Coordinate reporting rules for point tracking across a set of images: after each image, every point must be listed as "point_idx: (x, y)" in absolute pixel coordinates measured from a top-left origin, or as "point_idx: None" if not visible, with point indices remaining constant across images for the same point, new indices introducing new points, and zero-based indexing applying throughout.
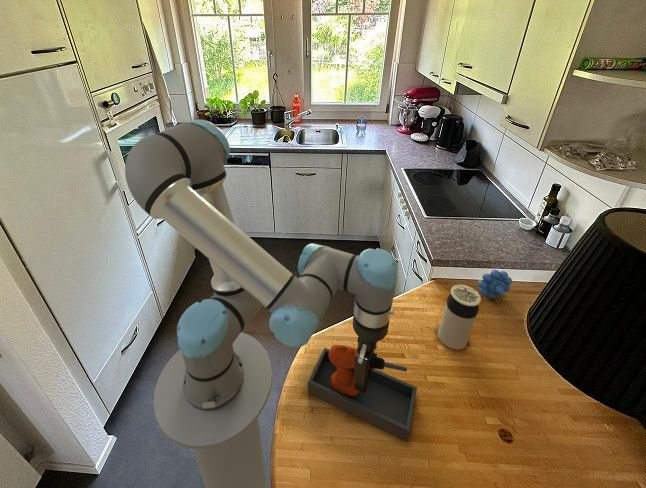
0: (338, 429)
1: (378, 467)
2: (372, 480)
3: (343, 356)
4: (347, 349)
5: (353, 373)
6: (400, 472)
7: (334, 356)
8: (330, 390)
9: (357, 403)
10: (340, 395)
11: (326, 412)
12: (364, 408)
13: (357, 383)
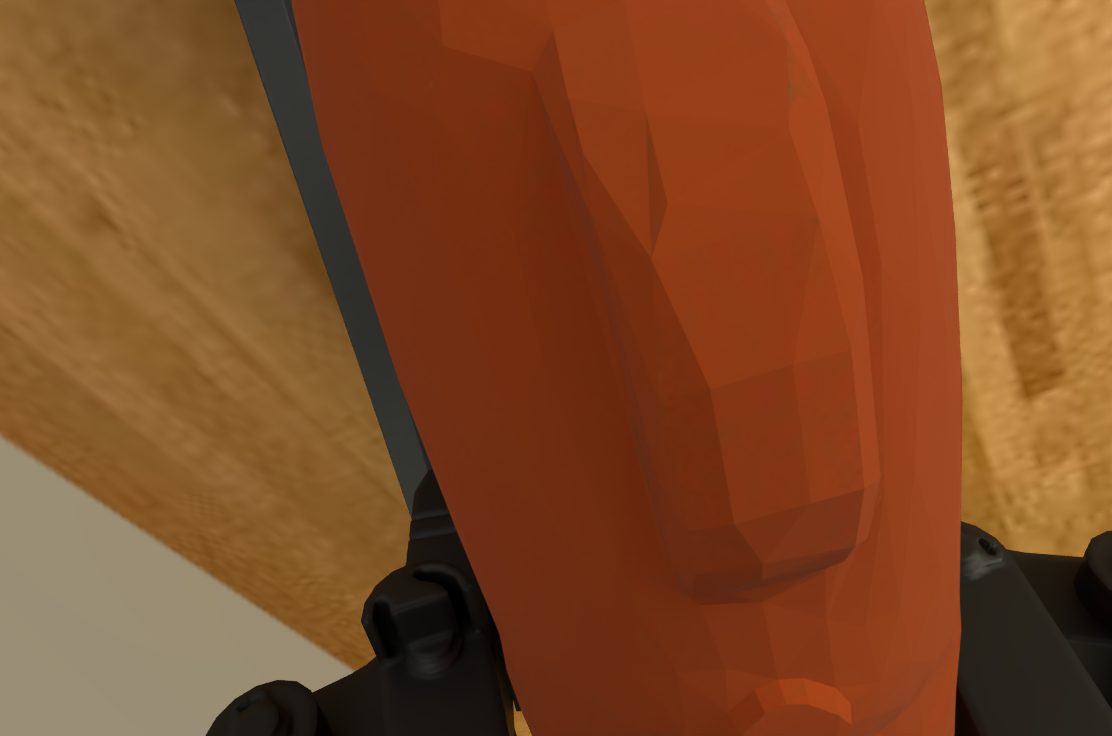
0: (198, 234)
1: (234, 528)
2: (148, 530)
3: (475, 507)
4: (779, 615)
5: (375, 627)
6: (310, 605)
7: (331, 130)
8: (286, 58)
9: (391, 380)
10: (332, 201)
11: (220, 61)
12: (395, 445)
13: (414, 520)
